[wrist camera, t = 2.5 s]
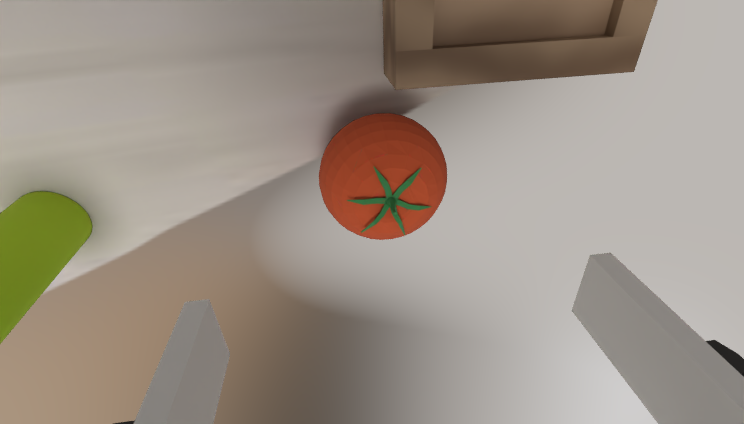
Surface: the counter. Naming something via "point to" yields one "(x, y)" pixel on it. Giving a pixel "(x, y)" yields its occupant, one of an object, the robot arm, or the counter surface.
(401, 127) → the tomato
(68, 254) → the soap dispenser
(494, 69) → the walnut box
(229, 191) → the counter surface
